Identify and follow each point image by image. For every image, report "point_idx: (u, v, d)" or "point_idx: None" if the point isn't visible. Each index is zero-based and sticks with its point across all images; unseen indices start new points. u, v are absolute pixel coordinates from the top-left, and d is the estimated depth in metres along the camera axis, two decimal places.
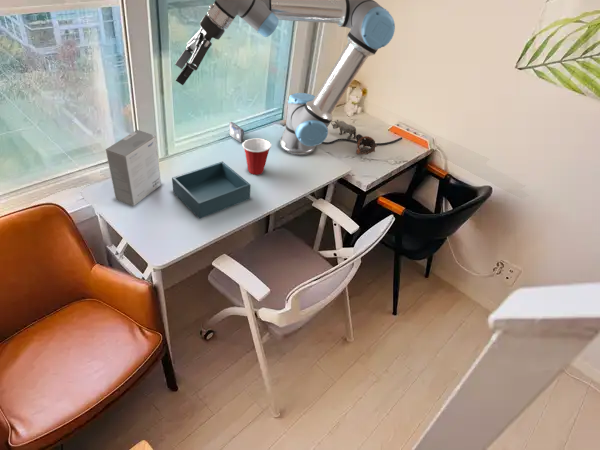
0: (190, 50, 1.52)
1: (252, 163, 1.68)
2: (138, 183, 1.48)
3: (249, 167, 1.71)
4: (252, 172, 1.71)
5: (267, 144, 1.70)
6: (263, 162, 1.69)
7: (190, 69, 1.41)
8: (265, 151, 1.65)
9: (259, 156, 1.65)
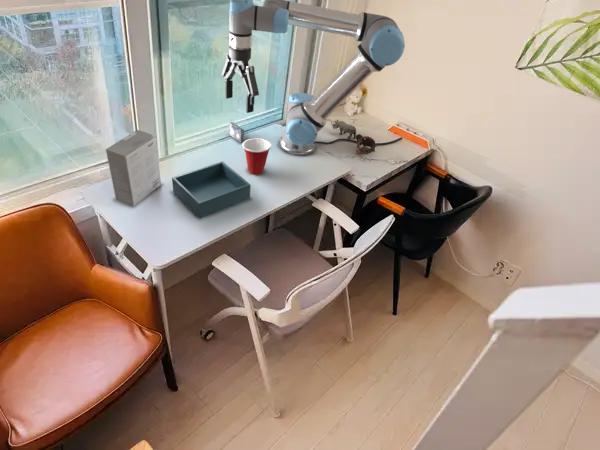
0: (229, 79, 1.66)
1: (252, 163, 1.68)
2: (138, 183, 1.48)
3: (249, 167, 1.71)
4: (252, 172, 1.71)
5: (267, 144, 1.70)
6: (263, 162, 1.69)
7: (253, 97, 1.58)
8: (265, 151, 1.65)
9: (259, 156, 1.65)
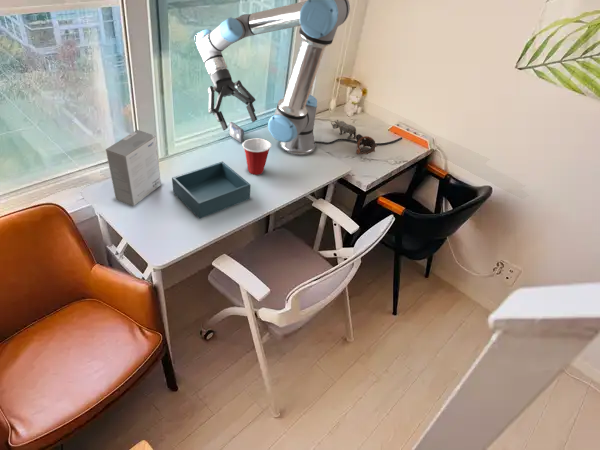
0: (249, 103, 1.74)
1: (252, 163, 1.68)
2: (138, 183, 1.48)
3: (249, 167, 1.71)
4: (252, 172, 1.71)
5: (267, 144, 1.70)
6: (263, 162, 1.69)
7: (215, 114, 1.65)
8: (265, 151, 1.65)
9: (259, 156, 1.65)
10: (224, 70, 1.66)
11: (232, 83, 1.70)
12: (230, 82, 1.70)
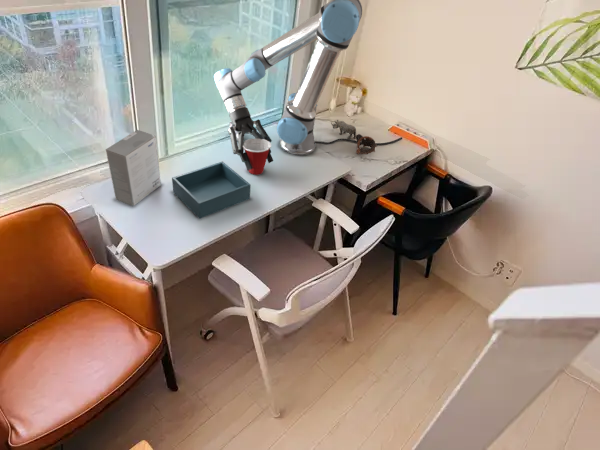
0: None
1: (252, 163, 1.68)
2: (138, 183, 1.48)
3: None
4: (252, 172, 1.71)
5: (267, 144, 1.70)
6: (263, 162, 1.69)
7: (240, 155, 1.66)
8: (265, 151, 1.65)
9: (259, 156, 1.65)
10: (243, 109, 1.66)
11: (251, 121, 1.70)
12: (249, 120, 1.69)
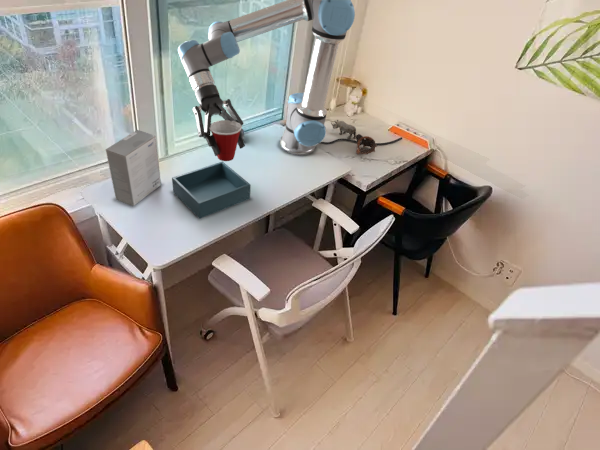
0: None
1: (220, 148, 1.49)
2: (138, 183, 1.48)
3: None
4: (221, 158, 1.52)
5: (238, 127, 1.51)
6: (233, 147, 1.50)
7: (206, 138, 1.47)
8: (234, 134, 1.46)
9: (227, 139, 1.46)
10: (211, 86, 1.47)
11: (220, 100, 1.51)
12: (218, 99, 1.50)
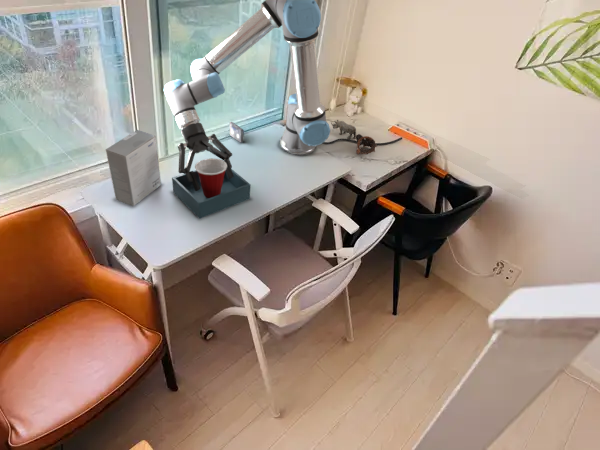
0: (225, 159, 1.57)
1: (206, 186, 1.52)
2: (138, 183, 1.48)
3: (204, 190, 1.55)
4: (207, 196, 1.55)
5: (223, 165, 1.54)
6: (219, 185, 1.53)
7: (186, 174, 1.48)
8: (220, 173, 1.49)
9: (213, 178, 1.49)
10: (196, 125, 1.49)
11: (206, 138, 1.53)
12: (203, 137, 1.53)
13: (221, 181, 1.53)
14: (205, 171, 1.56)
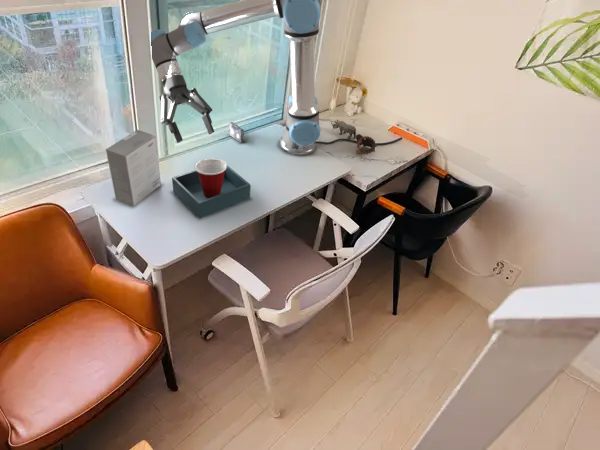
0: (205, 114, 1.58)
1: (206, 186, 1.52)
2: (138, 183, 1.48)
3: (204, 190, 1.55)
4: (207, 196, 1.55)
5: (223, 165, 1.54)
6: (219, 185, 1.53)
7: (169, 124, 1.48)
8: (220, 173, 1.49)
9: (213, 178, 1.49)
10: (179, 76, 1.49)
11: (187, 91, 1.54)
12: (185, 89, 1.53)
13: (221, 181, 1.53)
14: (205, 171, 1.56)
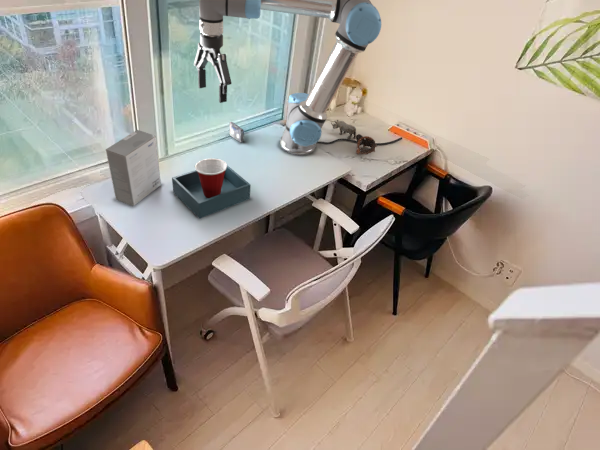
0: (201, 68, 1.61)
1: (206, 186, 1.52)
2: (138, 183, 1.48)
3: (204, 190, 1.55)
4: (207, 196, 1.55)
5: (223, 165, 1.54)
6: (219, 185, 1.53)
7: (225, 86, 1.53)
8: (220, 173, 1.49)
9: (213, 178, 1.49)
10: None
11: None
12: None
13: (221, 181, 1.53)
14: (205, 171, 1.56)
